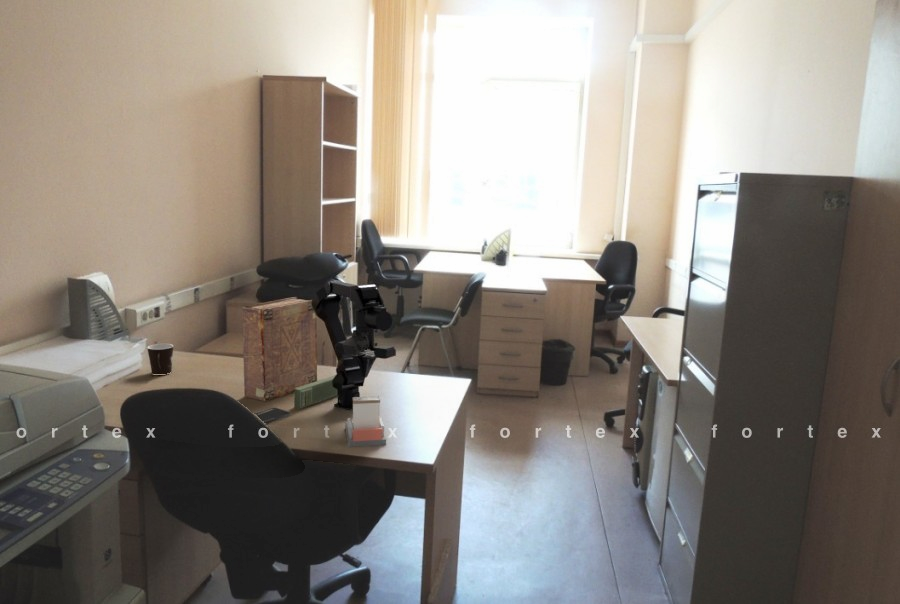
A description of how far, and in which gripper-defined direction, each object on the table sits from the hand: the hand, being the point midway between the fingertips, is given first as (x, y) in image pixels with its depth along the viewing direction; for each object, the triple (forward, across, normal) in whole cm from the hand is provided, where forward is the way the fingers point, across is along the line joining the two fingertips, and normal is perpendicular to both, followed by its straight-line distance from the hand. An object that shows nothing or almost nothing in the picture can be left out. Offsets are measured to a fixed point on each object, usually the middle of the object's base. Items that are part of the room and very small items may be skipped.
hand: (365, 377), depth 192 cm
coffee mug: (+10, -87, -5) cm, 88 cm away
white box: (+11, +11, -15) cm, 22 cm away
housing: (+13, +9, -12) cm, 20 cm away
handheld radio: (+12, -21, +7) cm, 25 cm away
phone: (+13, -24, -18) cm, 32 cm away
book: (+11, -39, +6) cm, 41 cm away
